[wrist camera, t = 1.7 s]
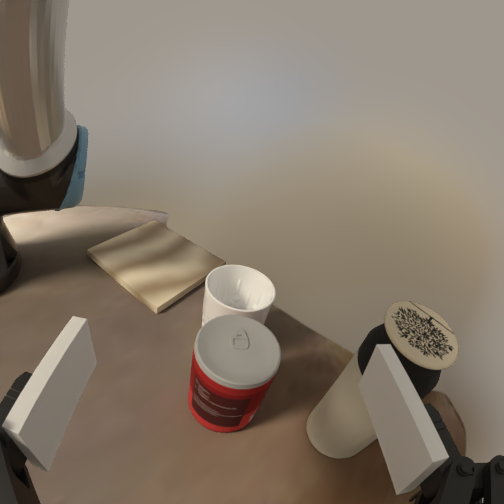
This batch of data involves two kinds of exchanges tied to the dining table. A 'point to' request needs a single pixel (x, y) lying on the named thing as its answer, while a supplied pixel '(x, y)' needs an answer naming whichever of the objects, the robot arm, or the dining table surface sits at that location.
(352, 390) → the travel mug
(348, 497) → the dining table surface
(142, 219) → the dining table surface
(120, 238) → the cutting board
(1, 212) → the robot arm
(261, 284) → the white cup
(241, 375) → the canned food
